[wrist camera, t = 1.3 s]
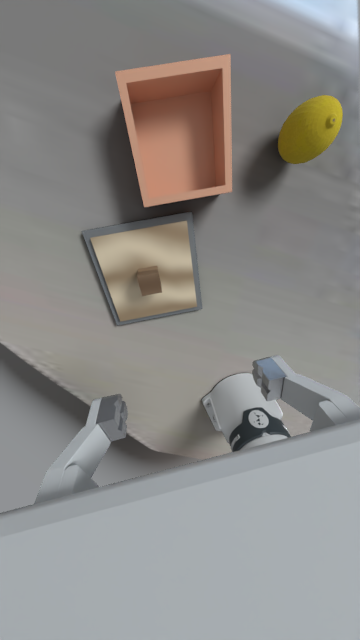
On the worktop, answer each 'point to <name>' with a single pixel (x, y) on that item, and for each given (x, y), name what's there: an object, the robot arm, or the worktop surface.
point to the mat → (139, 225)
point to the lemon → (310, 129)
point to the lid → (148, 270)
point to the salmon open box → (179, 128)
